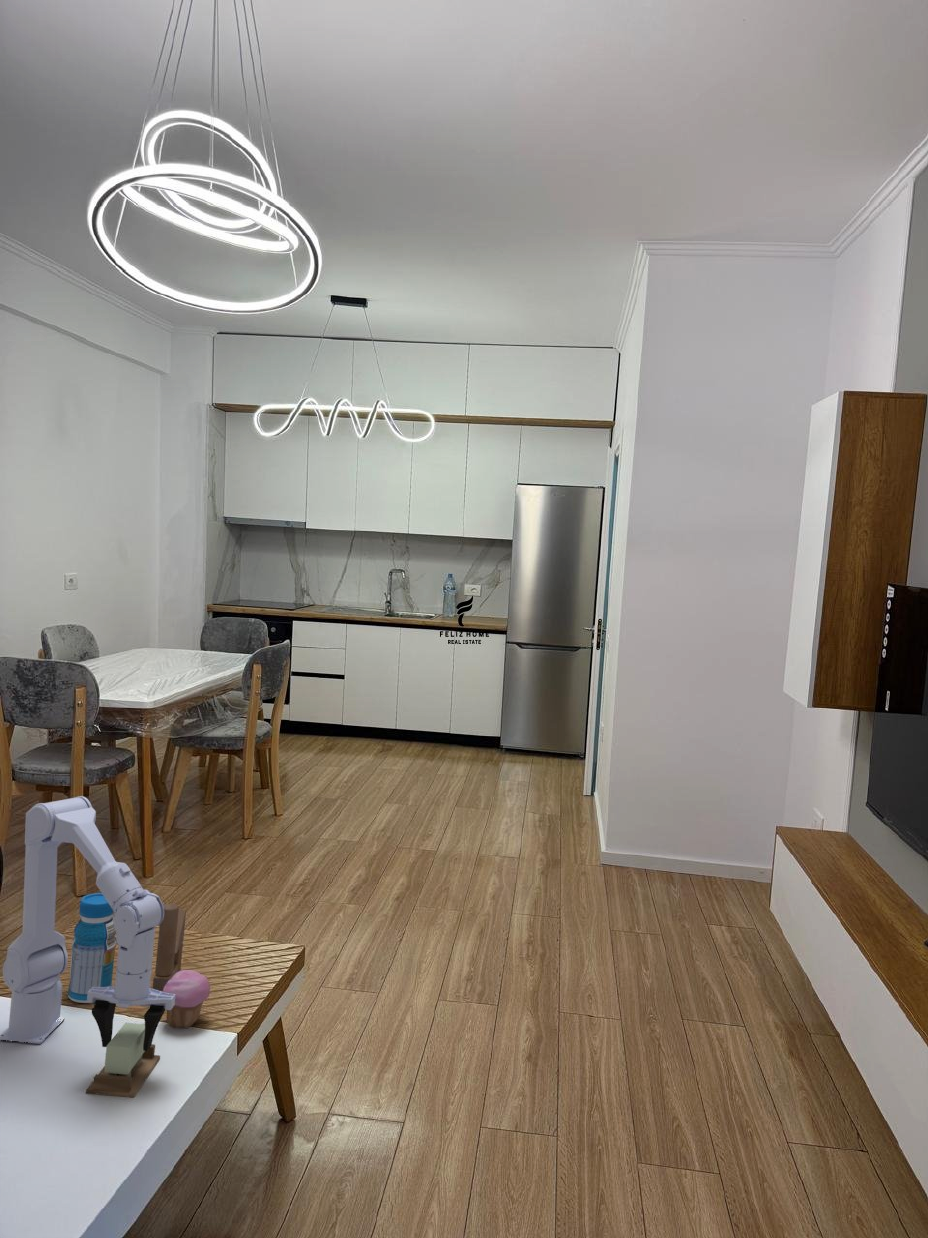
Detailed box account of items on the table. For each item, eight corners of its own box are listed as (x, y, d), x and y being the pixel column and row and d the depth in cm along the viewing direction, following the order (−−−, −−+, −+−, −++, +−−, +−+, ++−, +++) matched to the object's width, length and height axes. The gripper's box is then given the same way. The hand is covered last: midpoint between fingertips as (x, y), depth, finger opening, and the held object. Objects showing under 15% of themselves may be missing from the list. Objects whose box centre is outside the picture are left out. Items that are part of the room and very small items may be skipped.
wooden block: (180, 973, 184) (188, 892, 184) (169, 995, 174) (177, 909, 174) (163, 972, 184) (170, 891, 184) (151, 995, 173) (159, 909, 173)
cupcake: (174, 1009, 168) (179, 960, 168) (214, 1017, 166) (219, 967, 166) (151, 1030, 159) (155, 978, 159) (192, 1038, 158) (197, 986, 158)
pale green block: (123, 1048, 148) (125, 1022, 148) (145, 1050, 148) (148, 1024, 148) (104, 1072, 140) (106, 1046, 140) (127, 1074, 140) (130, 1048, 140)
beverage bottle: (73, 1008, 165) (82, 908, 165) (61, 991, 171) (70, 894, 171) (117, 999, 170) (126, 901, 170) (104, 982, 177) (113, 889, 177)
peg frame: (115, 1055, 150) (116, 1040, 150) (159, 1059, 150) (161, 1044, 150) (85, 1093, 138) (87, 1077, 138) (133, 1097, 138) (135, 1082, 138)
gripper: (81, 974, 140) (74, 1054, 140) (168, 981, 140) (160, 1062, 140) (99, 956, 147) (92, 1033, 147) (181, 964, 147) (174, 1040, 147)
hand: (127, 1046), depth 144 cm, fingers open, 6 cm apart
